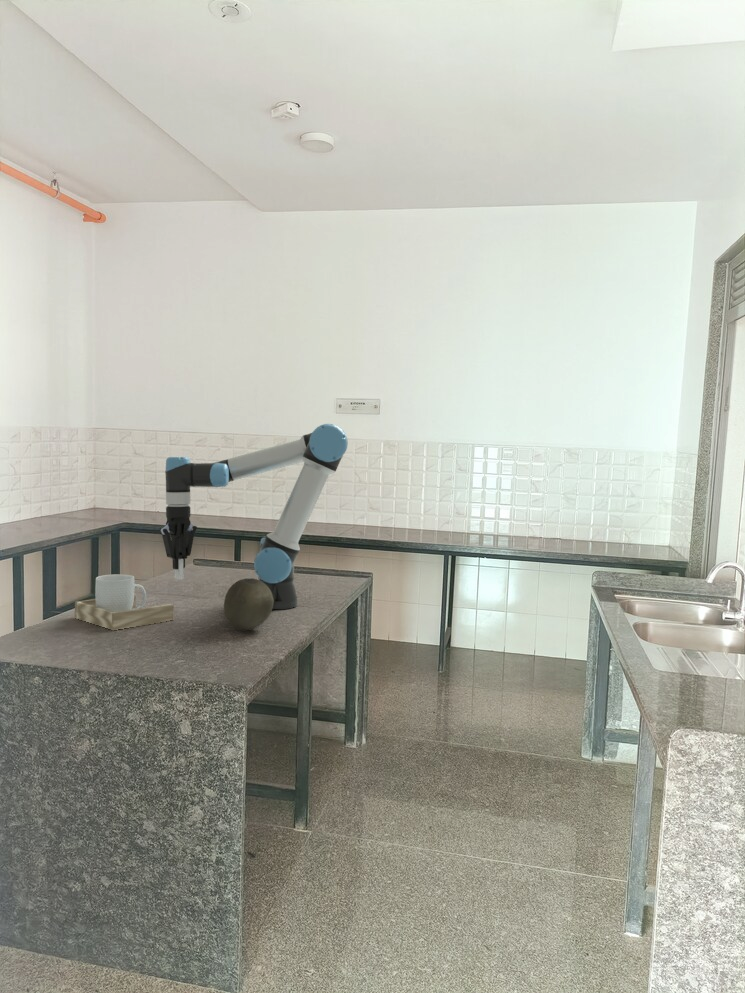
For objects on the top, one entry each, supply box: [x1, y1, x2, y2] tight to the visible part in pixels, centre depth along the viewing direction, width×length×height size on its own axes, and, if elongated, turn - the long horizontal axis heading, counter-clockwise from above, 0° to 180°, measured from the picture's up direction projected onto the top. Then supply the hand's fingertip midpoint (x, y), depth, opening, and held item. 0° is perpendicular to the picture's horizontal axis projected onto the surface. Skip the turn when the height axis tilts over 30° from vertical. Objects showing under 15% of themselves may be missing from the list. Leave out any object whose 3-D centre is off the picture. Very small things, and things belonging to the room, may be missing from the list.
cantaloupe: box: [223, 577, 274, 631], centre depth 214 cm, size 14×14×15 cm
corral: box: [74, 593, 175, 631], centre depth 220 cm, size 21×20×5 cm
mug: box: [94, 573, 147, 613], centre depth 219 cm, size 15×11×13 cm
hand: (179, 578), depth 234 cm, fingers closed
